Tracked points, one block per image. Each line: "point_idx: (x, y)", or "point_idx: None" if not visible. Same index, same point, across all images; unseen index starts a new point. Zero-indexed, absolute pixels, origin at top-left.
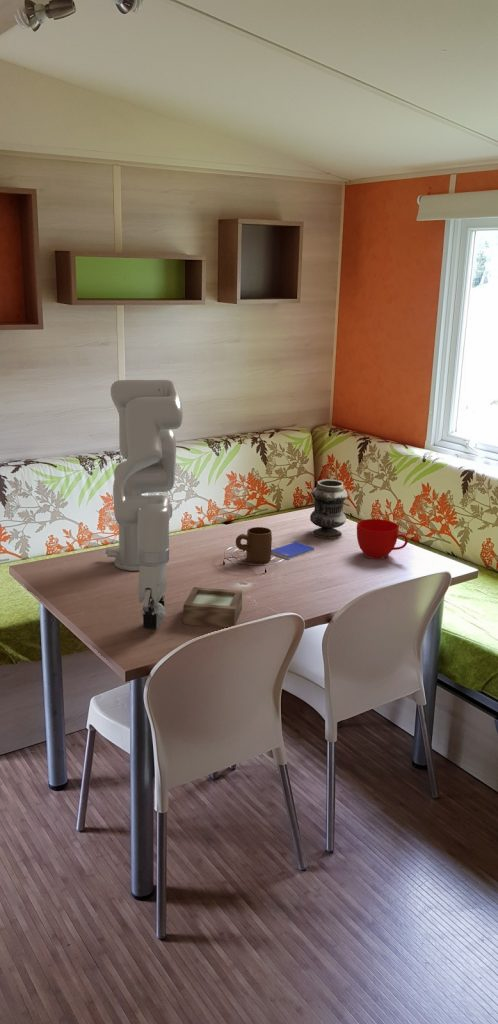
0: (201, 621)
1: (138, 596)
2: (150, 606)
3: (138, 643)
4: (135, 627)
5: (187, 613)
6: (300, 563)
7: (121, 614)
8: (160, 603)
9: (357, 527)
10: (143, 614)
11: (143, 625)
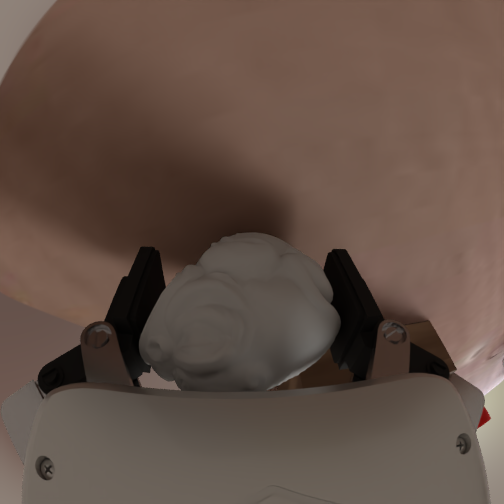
0: (284, 384)
1: (30, 442)
2: (174, 376)
3: (61, 230)
4: (225, 158)
5: (296, 383)
6: (487, 374)
7: (397, 54)
8: (297, 374)
9: (482, 422)
10: (114, 311)
11: (137, 254)
